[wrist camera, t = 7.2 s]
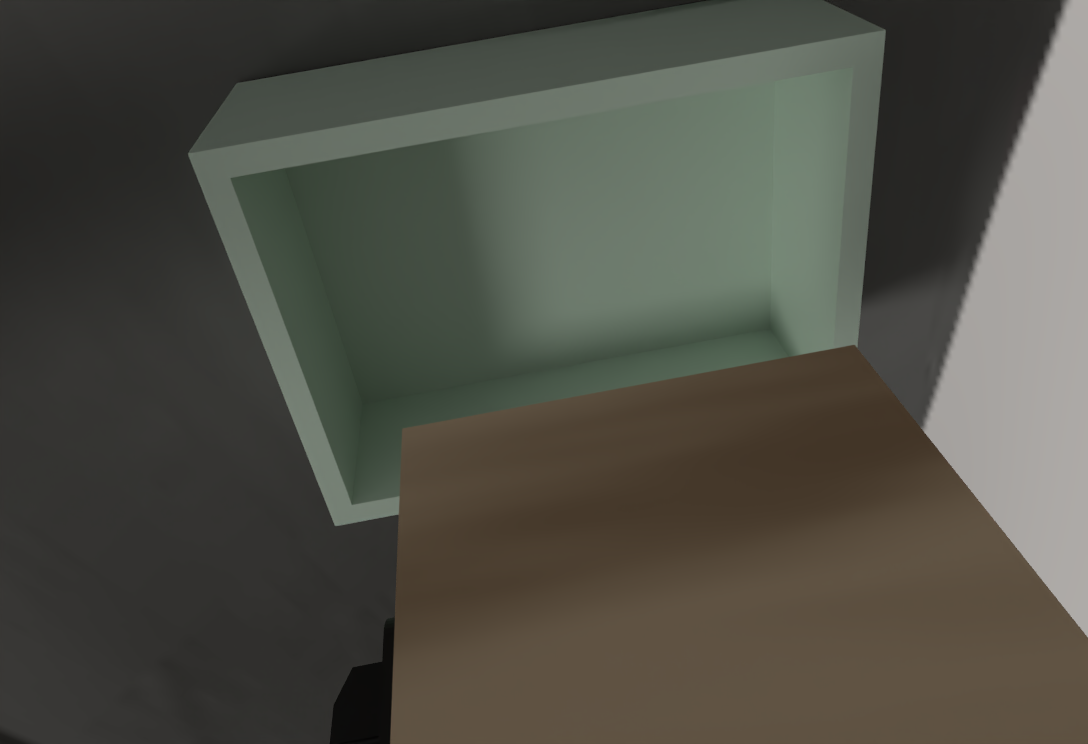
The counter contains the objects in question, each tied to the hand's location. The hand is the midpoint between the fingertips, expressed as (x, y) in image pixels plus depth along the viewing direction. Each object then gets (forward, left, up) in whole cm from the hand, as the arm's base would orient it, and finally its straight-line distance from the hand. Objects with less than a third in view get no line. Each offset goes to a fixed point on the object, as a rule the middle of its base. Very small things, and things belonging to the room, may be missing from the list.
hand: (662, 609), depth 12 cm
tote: (0, 0, -14) cm, 14 cm away
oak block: (0, 0, -1) cm, 1 cm away
